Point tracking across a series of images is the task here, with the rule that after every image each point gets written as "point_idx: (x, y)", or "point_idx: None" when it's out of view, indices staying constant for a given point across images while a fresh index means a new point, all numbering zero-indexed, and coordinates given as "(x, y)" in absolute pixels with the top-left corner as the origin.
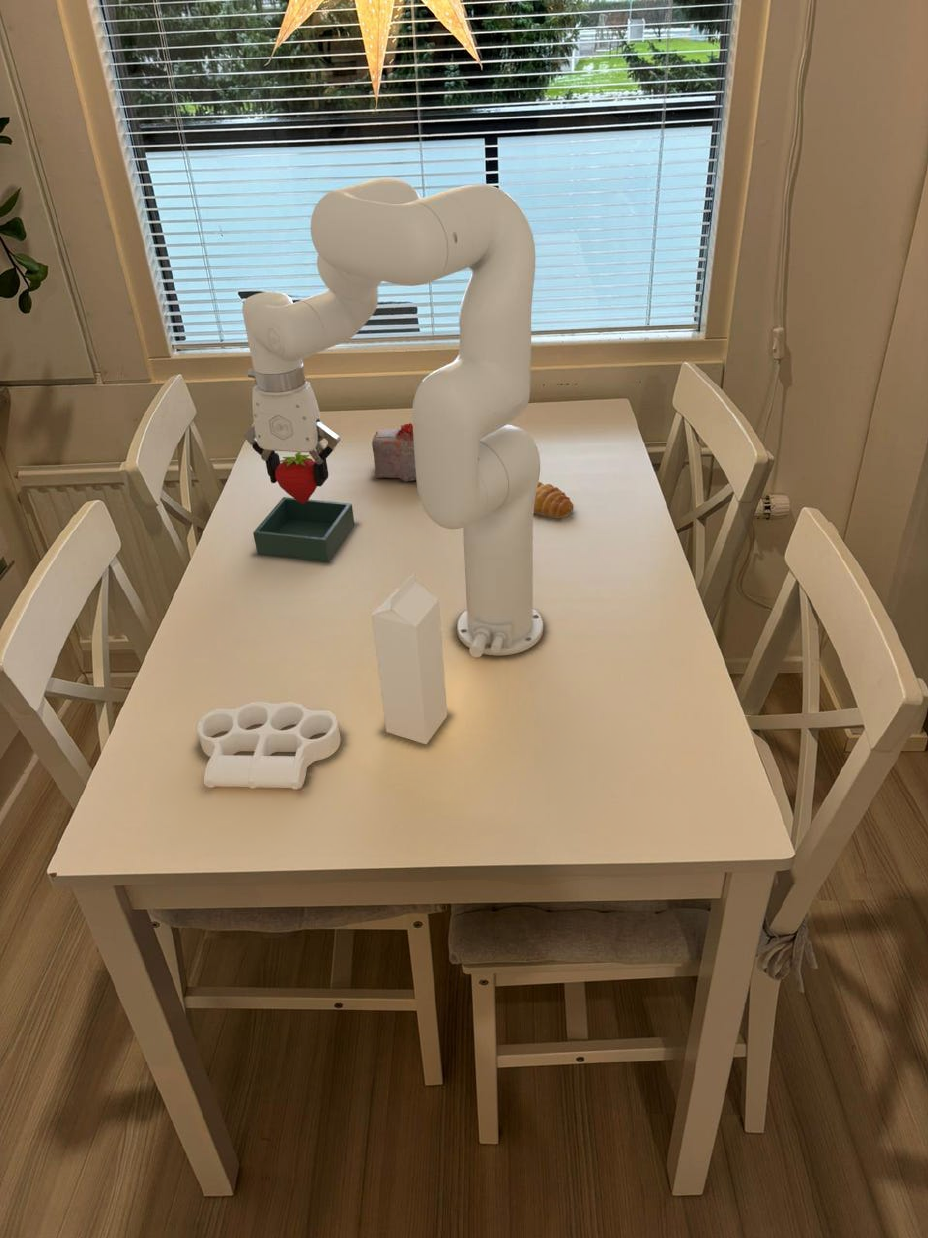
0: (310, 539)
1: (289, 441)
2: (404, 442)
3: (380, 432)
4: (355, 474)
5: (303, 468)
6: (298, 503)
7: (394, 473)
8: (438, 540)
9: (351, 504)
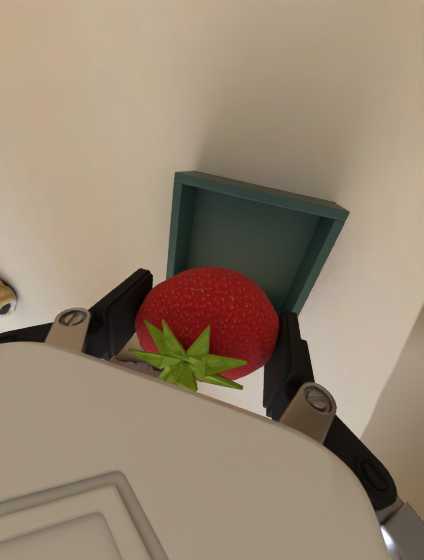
0: (207, 179)
1: (73, 442)
2: None
3: None
4: (207, 388)
5: (159, 315)
6: None
7: (154, 374)
8: (66, 233)
9: None
